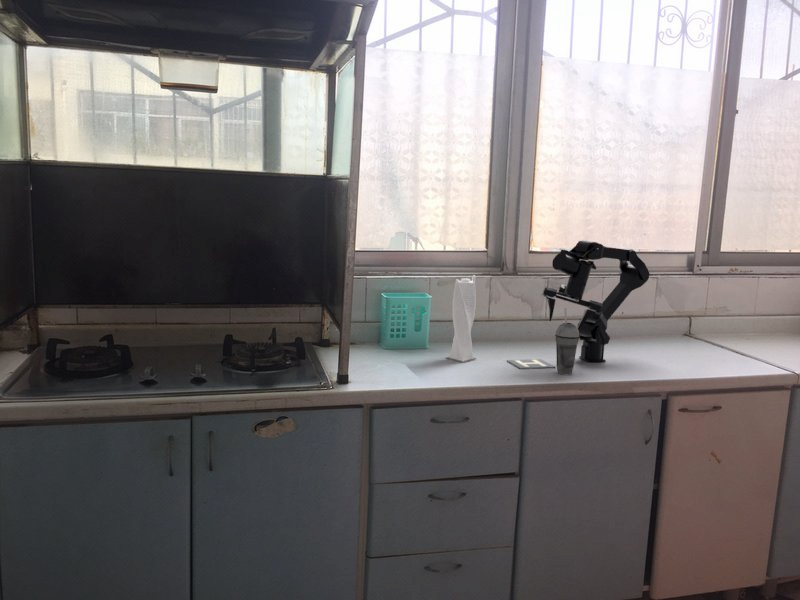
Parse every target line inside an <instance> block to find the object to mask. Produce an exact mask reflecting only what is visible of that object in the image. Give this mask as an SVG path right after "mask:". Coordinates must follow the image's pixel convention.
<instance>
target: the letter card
mask: <svg viewBox="0 0 800 600" xmlns="http://www.w3.org/2000/svg"><path fill="white" fill-rule="evenodd" d="M507 361H508V362H507ZM506 362H507V363H509V364H511V365H512V364H513V365H512V366H514V367H516V368H517V367H518V369H519V368H520V369H519V370H530V369H529V368H537V369H555V368H556V365H553V364H551V363H550V362H547V361H545V360H543V359H541V358H529V359H528V358H527V359H507V360H506ZM554 367H555V368H554Z"/></svg>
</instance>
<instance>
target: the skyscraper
mask: <svg viewBox="0 0 800 600" xmlns="http://www.w3.org/2000/svg"><path fill="white" fill-rule="evenodd" d="M476 277H477V276H476V275H475V274H472V276H471V278H467V277H466V278H465V277H464V278H461V279H460V280H459V279H458V278H456V279H455V284H454V287H453V288H454V290H453V295H452V306H451V307H452V308H451V309H452V310H451V311H452V313H451V315H452V323H453V328H454V329H453V330H454V334H453V338H452V339H453V340H452V346H451V350H450V355H449V356H446V357H445V359H447V360H451V361H456V362H459V363H462V362H464V363H467V362H471V360H472V361H475V359H476V360H477V357H474V355H473V342H472V334H471V333H472V332H471V331H472V328H473V324H474V321H475V316H476V308H477V291H476V290H477V289H476V288H477V287H476V279H477V278H476Z"/></svg>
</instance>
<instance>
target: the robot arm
mask: <svg viewBox="0 0 800 600" xmlns="http://www.w3.org/2000/svg"><path fill="white" fill-rule="evenodd" d="M600 259H610V260H611V259H612V260H619V261H618V262H619V267H618V268H619V271H620V272H621V273H619V274H620V275H619V282H618V284H617V285H616V286H615V287H614V288H613V289H612V291H611V292H610V293H609V294H608V295H607V296H606V298H605V299H604V300H603V301H602V302H598V301H595V300H592V299H591V300H588V301H587V300H584V299H583V297H584V292H585V289H586V287H587V283H588V281H589V277H590V273H591V270H597V266H596V264H595V263H594V262H595V260H600ZM551 262H552V268H553V269H554V270H556V271H558V272H561V273H562V274H565V275H567V276H569V277H568V281H567V284H566V285H565V284H562V283H560V284H559V287H558V289H555V288H552V287H548V286H546V287H545V288H543V290H542V293H541V296H542V297H545V298H544V300H546V301H547V305H548V317H549V318H548V322H552V319H553V315H554V310H555V304H556V299H559V300H563V301H566V302H568V303H571V304H576V305H579V306H581V307H582V306H583V307H585V309H584V311H583V314H582V316H581V318H579V322H578V323H577V329H578V331H579V340H580V341H582V345H581V350H580V355H579V356H578V357H579V359H581V360H584V361H586V362H588V363H596V362H597V363H599V362H601V363H602V362H605V363H606V361H607V359H604V352H605V346H606V345H608V344H609V343H610V339H611V336H610V335H609V334H608V333H607V329H608V322H609V319H611V317H612V316H614V315H613V314H614V313H616V311H617V310H618V308H619V307H620V306H621V305H622V304H623V302H624V301H625V300H626V299H627V297H628V296H629V295H630V294H631V292H633V291H635V290H637V289H640V288H641V287H642V286H644V285H645V284H646V283H647V282H648V280H649V279H650V271H649V269H648V268H647V265H646V263H645V262H644V261H643V260H642V259H641V258H640V257H639V256H638V254H637V252H636V251H635V250H634V249H632V248H631V249H630V248H618V247H611V246H604V245H603V244H602V243H599V242H597V241H588V240H578V242H577V243H576V244H575V246H574V247H573V248H571V250H567V249H560V252H559V253H557V254H556V255H554V257H553V259H552V261H551ZM628 262H629V263H630V264H629V263H628Z"/></svg>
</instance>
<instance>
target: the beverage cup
mask: <svg viewBox="0 0 800 600" xmlns="http://www.w3.org/2000/svg"><path fill="white" fill-rule="evenodd" d="M554 336H555V342H556V351H555V352H556V373H557V372H558V374H559V373H560V375H564V374H570V375H572V374H573V370H574V366H575V365H574V364H575V360H576V353H577V348H578V347H577V346H578V344H579V340H580V338H579V331H578V326H576V325H575V324H573V323H572V322H568V318H567V308H566V307H564V323H561V324H560V325H559V326H558V327H557V329H556V330H555V335H554Z"/></svg>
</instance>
